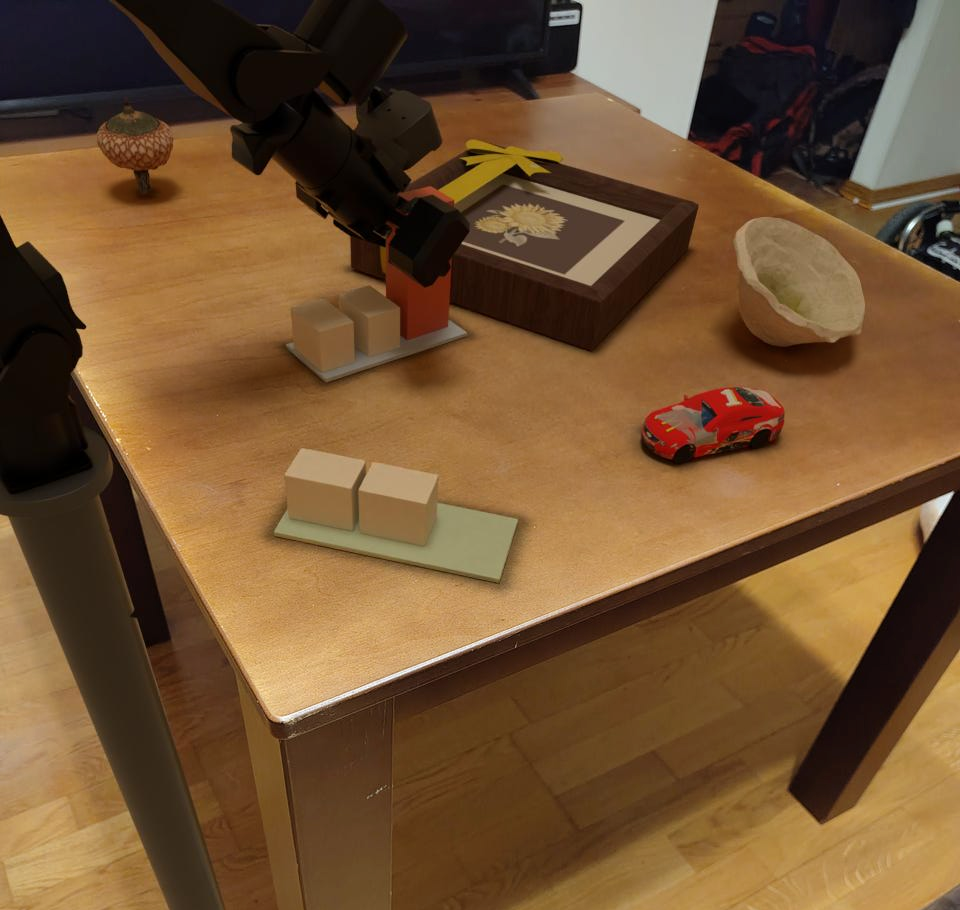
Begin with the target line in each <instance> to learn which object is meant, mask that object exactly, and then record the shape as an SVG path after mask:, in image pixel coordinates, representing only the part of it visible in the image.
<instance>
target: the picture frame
mask: <svg viewBox="0 0 960 910" xmlns="http://www.w3.org/2000/svg"><path fill="white" fill-rule="evenodd" d="M465 148H466V150H465V151H462V152H461V153H459V154H457V155H455V156H454V157H453V158H451V159H449V160H448V161H446V162H444V163H442V164H440V165H439V166H437V167H435V168H434V169H432V170H430V171H429V172H427V173H425V174H424V175H422V176H420V177H418V178H416V179H415V180H413V181H411V182H410V183H409V185H408V186H407V188H406V189H405V191H404V192H408V191H412V190H417V189H421V188H425V187H429V186H431V187H433V188H435V189H437V190H438V191H440V192H442V193H443V194H445V195H447V196H449V197H450V198H452V199H454V200H455V202H454V207H455V208H456V209H458V210H459V211H460V212H461V213H462V215H463V216H464V217H465V218H466V219H467V220H468V221H469V223H470V232H469V233H468V235H467V236H466V238H465V239H464V241H463V242H462V243H461V245H460V246H459V248H458V249H457V251H456V252H455V254H454V255H453V256H452V262H451V282H450V302H449V303H452V304H455V305H457V306H461V307H464V308H466V309H468V310H469V309H470V310H472V311H476V312H478V313H481V314H483V315H487V316H489V317H493V318H496V319H498V320H502V321H504V322H508V323H510V324H513V325H514V326H515V325H517V326H518V327H522V328H524V329H527V330H530V331H533V332H535V333H539V334H541V335H545V336H547V337H550V338H552V339H556V340H559V341H562V342H565V343H568V344H570V345H573V346H577V347H579V348H582V349H584V350H587V351H593V350H594V349H596V347H597V346H598V345H599V344H600V343H601V342H602V341H603V339H604V338H606V336H608V334H609V333H610V332H611V331H612V330H613V329H614V328H615V327H616V326H617V325H618V324H619V322H621V321H622V319H623V318H625V316H626V315H627V314H628V313H630V311H631V310H632V309H633V308H634V307H635V305H636V304H637V303H638V302H640V300H641V299H642V298H643V297H644V296H645V295H646V294H647V293H648V292H649V291H650V290H651V289H652V288H653V286H654V285H655V284H657V282H658V281H659V280H660V279H661V278H662V277H663V276H664V275H665V274H666V273H667V272H668V271H669V269H671V267H672V266H673V265H674V264H675V263H676V262H677V261H678V260H679V259H680V258H681V257H682V256H683V255H684V254H685V252H686V251H687V250H688V249H689V245H690V242H691V238H692V234H693V230H694V226H695V221H696V218H697V214H698V210H699V206H700V205H699V204H698V203H696V202H695V201H693V200H689V199H685V198H682V197H679V196H675V195H673V194H672V195H671V194H668V193H664V192H661V191H658V190H654V189H651V188H647V187H644V186H639V185H637V184H633V183H630V182H626V181H623V180H618V179H616V178H612V177H609V176H606V175H603V174H599V173H596V172H593V171H592V172H591V171H587V170H586V169H585V170H584V169H581V168H577V167H575V166H570V165H567V164H564V163H563V161H564V156H563V155H562V154H561V153H560V152H558V151H551V150H550V151H549V150H538V151H537V150H527V149H523V148H520V147H517V146H513V145H509V146H507V147H506V146H505V147H504V146H501V145H498V144H494V143H490V142H487V141H484V140H483V141H481V140H479V139H471V138H470V139H469V140H468V141H467V142H466V143H465ZM404 192H403V193H404ZM400 193H402V192H400V191H399V193H398V194H400ZM349 237H350V238H349V241H350V242H349V243H350V268H352V269H355V270H357V271H359V272H363V273H366V274H368V275H371V276H375V277H377V278H381V279H382V280H386V248H385V247H382V246H379V245H376V244H373V243H370V242H367V241H363V240H360V239H357V238H354V237H351V236H349Z"/></svg>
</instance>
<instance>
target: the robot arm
mask: <svg viewBox="0 0 960 910" xmlns="http://www.w3.org/2000/svg"><path fill="white" fill-rule="evenodd" d="M108 2H110V3H111V4H112V5H114V6H115V7H116V8H117V9H119V10H120V11H121V12H122V13H123V14H125V15H126V16H127V17H128V18H129V19H130V20H131V22H132V23H134V24H135V26H136V27H137V28H138V29H139V30H140V32H142V34H143V36H144V37H145V38H146V40H147V41H148V42H149V43H150V45H151V46H152V47H153V49H154V51H156V53H157V54H158V55H159V56H160V58H162V60H163V61H164V62H165V63H166V64H167V65H168V66H169V68H171V70H172V71H173V72H174V73H175V75H176V76H177V77H179V79H180V80H181V81H182V82H183V83H184V84H185V85H186V86H187V88H189V89H190V90H191V91H192V92H193V93H195V94H196V95H198V96H199V97H200V98H203V99H204V100H206V101H207V102H208V103H210V104H211V105H213V106H214V107H216V108H217V109H219V110H221V111H222V112H224V113H226V114H227V115H228V116H230V117H232V118H233V119H234V120H237V121H238V122H241V123H239V124H232V125H230V128H229V131H230V133H231V137H232V138H231V140H232V141H231V158H232V160H233V161H235V162H236V163H237V164H239V165H240V166H242V167H243V168H245V169H246V170H247V171H249V172H251V173H252V174H253V175H255V176H261V175H262V174H263V172H264V171H265V169H266V168H267V166H268V164H269V163H270V161H271V160H273V161H274V162H275V163H276V164H277V165H278V166H280V168H281V169H283V170H284V171H285V172H286V173H287V174H288V175H289V176H290V177H291V178H292V179H294V180H295V183H294V184H295V195H296V198H297V200H298V201H299V202H301V203H302V204H303V205H304V206H306V207H307V208H308V209H309V210H310V211H311V212H313V213H314V214H316V215H317V216H319V217H320V218H322V219H323V220H326V219H327V218H328V216H330V217H331V218H332V224H333V226H334V227H336V228H337V229H339V230H340V231H341V232H343V233H345V234H346V235H347V236H349V237H350V236H351V237H354V238H357V239H360V240H363V241H367V242H370V243H373V244H376V245H379V246H382V247H385V248H386V239H387V238H388V237H389V235H390V234H391V232H392V230H393V229H392V228H391V227H389V226H388V225H386V222H387V223H389V224H390V225H392V226H393V227H395V228H396V230H395V231H394V234H395V235H394V237H393V238H392V240H391V241H390V243H389V244H388V263H390V264H391V265H393V266H394V267H396V268H397V269H399V270H400V271H402V272H403V273H404V274H405V275H407V276H408V277H410V278H411V279H413V280H414V281H416V282H417V283H418V284H420V285H421V286H423V287H424V288H426V287H429V286H431V285H433V284H434V283H435V281H436V280H437V278H438V277H439V276H440V277H445V276H446V275H447V273H448V272H449V270H450V268H451V266H450V263H449V261H450V259H451V258H452V256H453V255H454V254H455V252H456V251H457V249H458V248H459V246H460V245H461V243H462V242H463V241H464V239H465V238H466V236H467V235H468V233H469V232H470V223H469V221H468V220H467V219H466V218H465V217H464V216H463V215H462V213H461V212H460V211H459V210H458V209H456V208H455V207H453V206H451V205H450V204H448V203H446V202H445V201H443V200H441V199H439V198H438V197H436V196H434V195H433V194H432V195H428V196H424V197H420V198H419V197H414V198H412V199H411V200H410V201H408V200H406V199H404V198H403V197H401V196H399V195H398V193H399V191H400V192H402V193H403V192H404V191H405V189H406V188H407V186H408V185H409V184H410V183H412V179H411V177H410V176H409V175H408V174H407V173H406V172H405V171H408V170H410V169H412V168H413V167H414V166H416V165H417V164H418V163H419V162H421V160H423V159H424V158H425V157H426V156H427V155H429V154H430V153H431V152H436V151H437V150H438V149H439V148H440V147H441V146H442V144H443V137H442V134H441V130H440V127H439V125H438V121H437V119H436V115H435V112H434V109H433V106H432V104H431V102H429V100H426V99H424V98H422V97H420V96H418V95H417V94H415V93H412V92H410V91H408V90H405V89H402V90H397V89H395V88H393V87H392V88H390V89H389V90H388V93H389V94H387V92H385V90H383V89H382V88H381V87H379V86H377V85H378V83H379V82H380V80H381V78H382V77H383V76H384V74H385V72H386V70H387V69H388V67H389V66H390V64H391V63H392V61H393V60H394V59H395V57H396V55H397V54H398V52H399V50H400V49H401V48H402V46H403V45H404V44H405V43H404V42H405V41H406V40H407V39H408V31H407V29H406V27H405V25H404V23H403V22H402V20H401V19H400V17H399V16H398V15H397V14H396V12H395V11H394V10H393V9H391V8H390V7H388V6H386V5H385V4H383V2H381V0H313V2H312V3H311V4H310V7H309V8H308V9H307V11H306V13H305V15H304V16H303V18H302V19H301V21H300V22H299V24H298V26H297V27H296V29H295V31H294V32H293V34H291V33H289V32H288V31H287V30H286V31H285V30H284V29H282V28H280V27H278V26H276V25H274V24H260V23H255V22H253V21H252V20H250V19H248V18H247V17H246V16H244V15H243V14H241V13H240V12H238V11H237V10H234V8H231V7H230V6H228V5H226V4H225V3H223V2H221V1H220V0H108ZM316 89H319V90H320V91H322V92H323V93H324V94H325V95H326V96H327V97H328V98H330V99H331V100H332V101H333V102H335V103H336V104H337V105H339V106H342V107H346V106H347V105H348V103H349V101H350V100H351V101H352V102H354V103H355V116H356V117H355V118H356V121H357V124H356V127H355V128H354V129H353V128H351V126H350V125H348V124H347V123H346V121H344V120H343V119H342V118H341V116H340V115H339V114H338V113H336V111H335V110H334V109H333V108H332V107H331V105H329V103H327V102H326V100H325V99H324V98H323V97H322V96H321V95H320V94H319V93H318V92H317V91H316ZM395 208H396V209H398V210H399V211H401V212H403V213H404V214H406V215H403V214H402V213H400V212H398V211H397V210H395ZM407 212H408V213H409V214H407ZM86 329H87V325H86V324H85V323H84V322H83V321H82V319H81V318H80V317H78V315H77V314H76V311H74V308H73V307H72V304H71V301H70V295H69V293H68V288H67V286H66V283H65V280H64V277H63V275H62V274H61V272H59V270H58V269H56V267H55V266H54V265H53V264H52V263H51V262H49V260H48V259H47V258H46V257H45V256H44V255H43V254H42V253H41V252H40V251H39V250H38V249H37V248H36V247H35V246H34V245H33V244H32V243H31V242H30V241H26V242H24V243H22V244H21V245H19V246H16V244H15V241H14V240H13V238H12V236H11V234H10V231H9V229H8V228H7V225H6V223H5V221H4V219H3V218H2V215H1V214H0V481H1V483H2V484H3V486H4V487H5V489H6V490H7V492H8V493H9V494H18V493H21V492H23V491H26V490H29V489H32V488H35V487H38V486H41V485H44V484H47V483H50V482H53V481H56V480H59V479H62V478H65V477H68V476H71V475H74V474H77V473H80V472H83V471H86V470H89V469H91V468H92V467H93V464H92V460H91V459H90V458H89V456H88V455H87V454H86V453H85V451H84V450H85V449H87V448H88V446H89V445H88V442H87V439H86V435H85V432H84V429H83V427H84V425H83V422H82V419H81V415H80V412H79V408H78V405H77V404H76V402H75V401H74V400H73V399H72V397H71V396H70V383H71V375H72V373H73V371H75V369H76V368H77V365H78V363H79V361H80V359H81V358H82V357H83V356H84V355H83V353H84V346H83V342H82V339H81V335H80V333H79V331H78V330H81V331H82V330H86Z"/></svg>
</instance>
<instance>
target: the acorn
mask: <svg viewBox="0 0 960 910" xmlns="http://www.w3.org/2000/svg"><path fill="white" fill-rule="evenodd" d="M123 103H124V107H123V110H122V112H120V113H117V114H115V115H114V116H112V117H111V118H110V119H108V120H107V121H104V122H103V123H102V124H101V126H100V127H99V129H98V131H97V132H96V143H97V147H98V148H99V150H100V152H102V154H103V155H104V157H106V159H108V161H109V162H110V163H111V164H113V165H115V166H116V167H118V168H120V169H127V170H131V171H133V174H134V177H135V180H136V185H137V190H138V192H139V194H141V195H146V194H148V192H149V191H150V190H152V186H151V183H150V178H151V177H150V172H149V170H152V171H155V170H157V169H158V168H159V167H162V166H165V165H166V164H167V163H168V161H169V160H170V157H171V154H172V151H173V148H174V136H173V133H172V130H171V128H170V126H169V125H168V124H167V123H166V122H164V121H163V120H160V119H158V118H157V117H153V116H152V115H150V114H149V113H147V112H144V111H139V110H135V109H134V108H133V107H132V106H131V105H130V101H129V99H128V97H124V99H123Z"/></svg>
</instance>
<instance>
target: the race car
mask: <svg viewBox="0 0 960 910" xmlns="http://www.w3.org/2000/svg"><path fill="white" fill-rule="evenodd" d="M785 413H786V412H785V407H784V406H783V405H782V404H781V403H780V402H779V401H778V400H777V399H776V398H775V397H774V396H773V395H771V394H770V393H769V392H768V391H765V390H762V389H758V388H751V387H750V388H749V387H746V386H735V387H734V386H733V387H722V388H721V387H720V388H716V389H712V390H711V389H710V390H707V391H704V392H700V393H697V394H695V395H693V396H691V397H689V396H688V395H687V394H683V400H682V401H680V402H679V403H678V402H677V403H675V404H672V405H668V406H665V407H662V408H660V409H656V410H654V411H651V412H650V413H649V414H647V416H646V417H645V418H644V421H643V424H642V429H641V434H640V438H641V440H642V443H643V444H644V446H645V447H646V448H647V449H649V450H650V451H651V452H653V453H654V454H656V455H658V456H660V457H662V458H665V459H668V460H673V461H674V462H675V463H677V464H684V463H686V462H688V461H689V460H690V459H691V458H692V457H694V458H698V457H703V456H708V455H713V454H718V453H723V452H727V451H732V450H737V449H742V448H747V447H751V448H754V449H758V448H760V447H762V446H764V445H765V444H766V443H767V442H768V441H769V442H771V441H773V440H774V439H776V438H778V437H779V435H780V434H781V433H782V430H783V427H784V425H785Z"/></svg>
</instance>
